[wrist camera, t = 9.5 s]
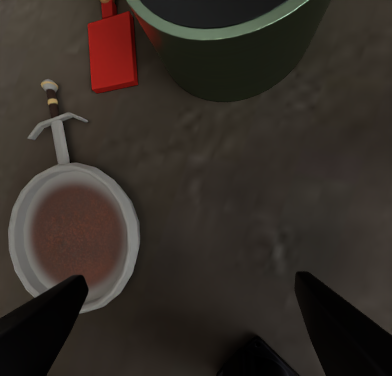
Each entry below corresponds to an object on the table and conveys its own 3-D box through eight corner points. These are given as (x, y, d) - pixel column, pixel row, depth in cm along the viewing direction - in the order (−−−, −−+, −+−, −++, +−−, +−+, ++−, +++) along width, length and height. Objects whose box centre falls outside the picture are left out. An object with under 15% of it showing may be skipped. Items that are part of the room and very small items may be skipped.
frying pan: (98, 46, 21) (148, 311, 18) (115, 64, 23) (160, 295, 21) (-16, 97, 24) (14, 325, 22) (11, 107, 27) (40, 310, 25)
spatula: (87, -60, 24) (75, -80, 22) (127, -76, 23) (117, -99, 21) (97, 93, 23) (85, 85, 22) (138, 85, 22) (129, 76, 20)
